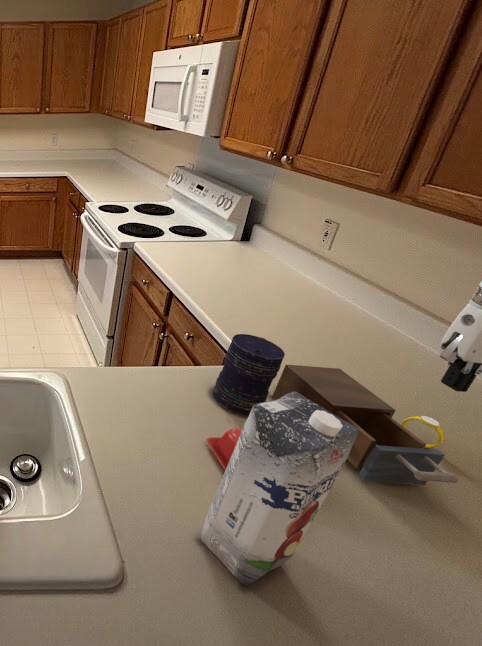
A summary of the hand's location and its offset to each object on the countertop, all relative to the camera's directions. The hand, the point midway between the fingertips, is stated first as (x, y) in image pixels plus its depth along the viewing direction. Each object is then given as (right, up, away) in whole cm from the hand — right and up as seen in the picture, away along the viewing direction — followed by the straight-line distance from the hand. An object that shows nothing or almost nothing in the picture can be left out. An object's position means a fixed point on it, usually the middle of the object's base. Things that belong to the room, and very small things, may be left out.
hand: (452, 386), depth 79 cm
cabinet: (-17, -10, +11) cm, 22 cm away
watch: (0, -14, +7) cm, 15 cm away
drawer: (-17, -14, -2) cm, 22 cm away
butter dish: (-42, -14, -4) cm, 45 cm away
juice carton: (-53, -19, -19) cm, 60 cm away
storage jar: (-33, -8, +14) cm, 37 cm away
